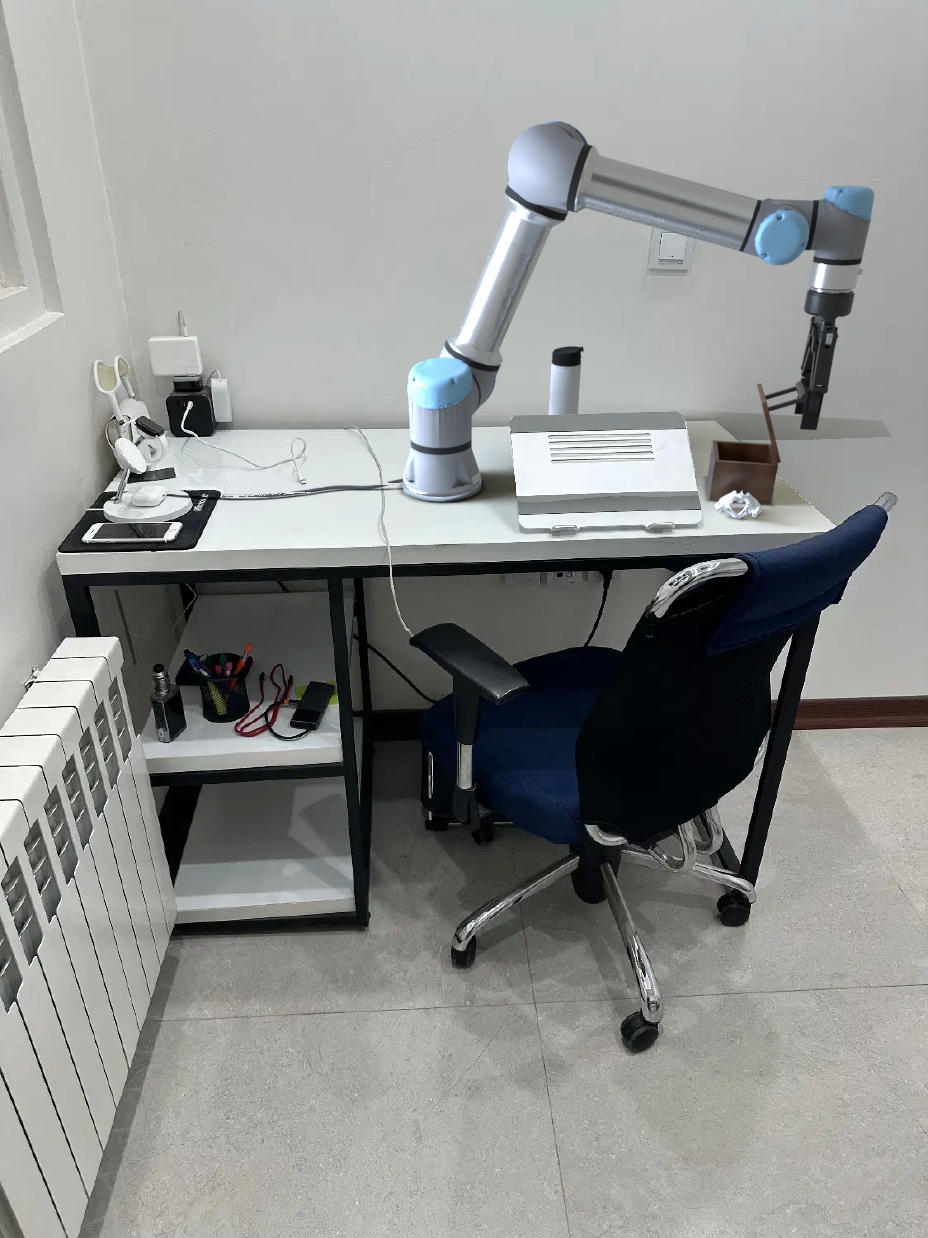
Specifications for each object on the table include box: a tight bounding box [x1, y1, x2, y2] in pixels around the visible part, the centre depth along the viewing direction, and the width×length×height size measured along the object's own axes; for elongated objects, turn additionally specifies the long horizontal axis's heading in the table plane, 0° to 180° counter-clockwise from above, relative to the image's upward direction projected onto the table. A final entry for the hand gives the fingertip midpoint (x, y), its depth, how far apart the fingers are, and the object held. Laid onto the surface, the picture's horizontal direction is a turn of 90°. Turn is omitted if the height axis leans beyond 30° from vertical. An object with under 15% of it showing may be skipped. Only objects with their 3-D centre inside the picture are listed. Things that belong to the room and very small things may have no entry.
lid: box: [756, 380, 809, 464], centre depth 157 cm, size 12×12×8 cm
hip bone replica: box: [714, 491, 762, 519], centre depth 155 cm, size 8×4×7 cm
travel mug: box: [548, 345, 585, 416], centre depth 186 cm, size 6×7×20 cm
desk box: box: [706, 439, 779, 506], centre depth 164 cm, size 11×12×8 cm
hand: (805, 421), depth 156 cm, fingers closed on lid, 8 cm apart
